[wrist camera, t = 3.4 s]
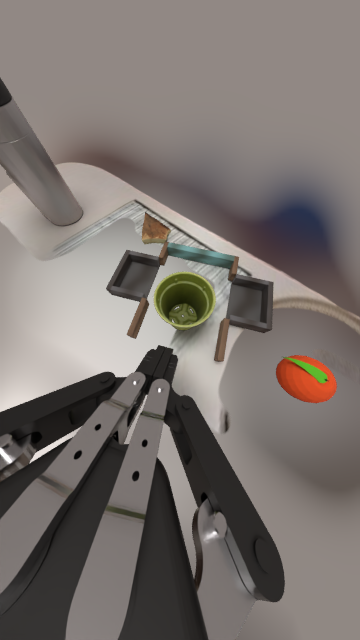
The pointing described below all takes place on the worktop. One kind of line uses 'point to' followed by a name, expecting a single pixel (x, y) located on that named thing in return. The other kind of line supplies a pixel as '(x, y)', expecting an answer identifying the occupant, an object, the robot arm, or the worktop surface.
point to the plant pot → (184, 299)
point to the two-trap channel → (246, 292)
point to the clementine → (306, 379)
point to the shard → (154, 231)
